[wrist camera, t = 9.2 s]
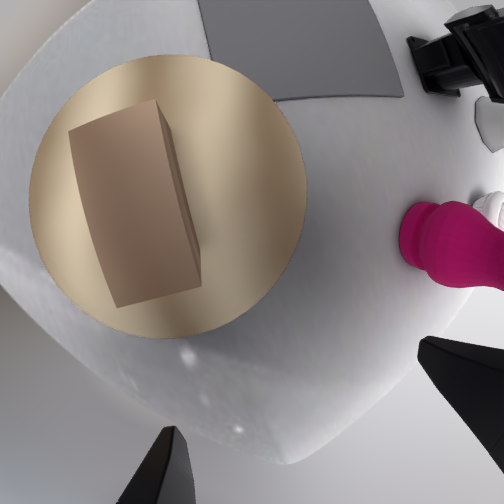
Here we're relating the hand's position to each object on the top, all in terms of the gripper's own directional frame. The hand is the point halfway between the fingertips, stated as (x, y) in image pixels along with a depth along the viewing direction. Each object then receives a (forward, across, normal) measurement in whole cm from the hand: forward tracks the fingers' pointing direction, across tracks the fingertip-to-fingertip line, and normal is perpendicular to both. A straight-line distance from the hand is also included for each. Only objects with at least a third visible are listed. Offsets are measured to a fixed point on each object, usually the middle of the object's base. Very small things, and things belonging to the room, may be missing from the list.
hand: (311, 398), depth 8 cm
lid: (+8, +4, -7) cm, 11 cm away
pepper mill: (+13, -17, +1) cm, 22 cm away
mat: (+13, -9, -20) cm, 25 cm away
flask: (+13, -34, -10) cm, 38 cm away
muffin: (+13, -28, +1) cm, 31 cm away
